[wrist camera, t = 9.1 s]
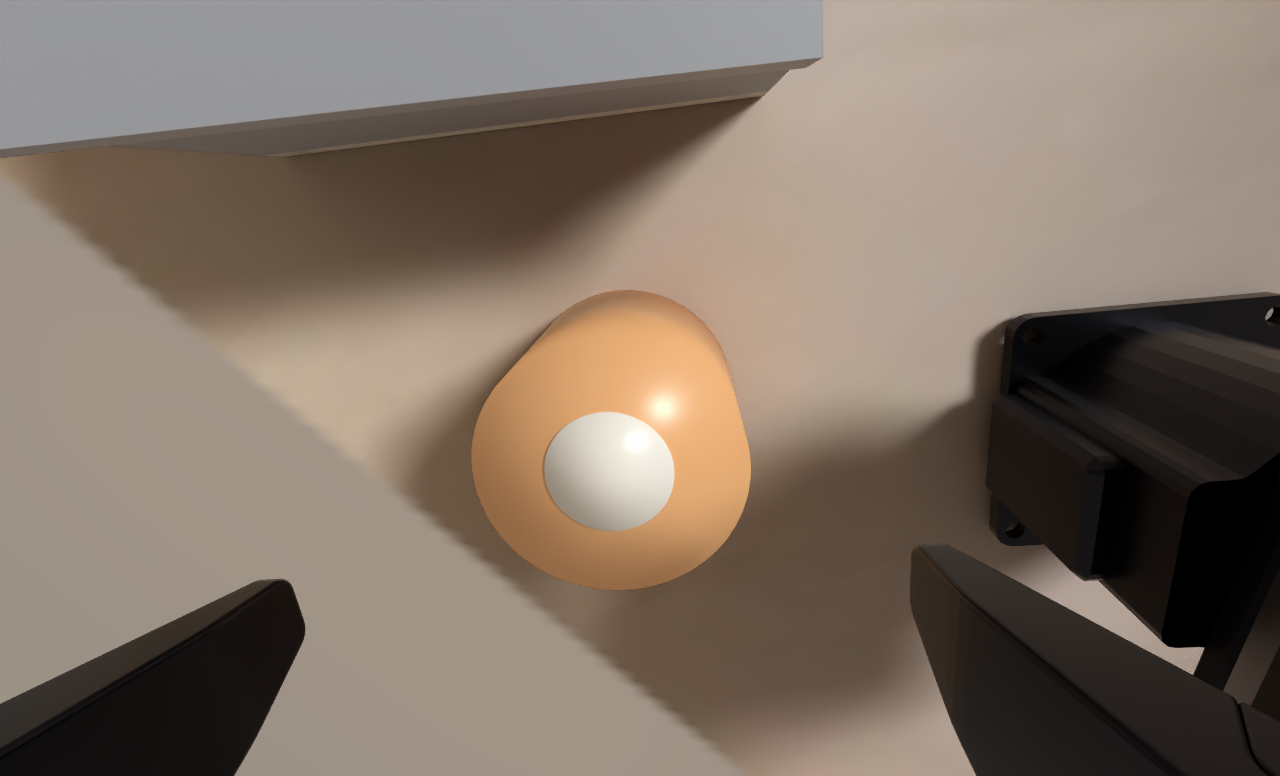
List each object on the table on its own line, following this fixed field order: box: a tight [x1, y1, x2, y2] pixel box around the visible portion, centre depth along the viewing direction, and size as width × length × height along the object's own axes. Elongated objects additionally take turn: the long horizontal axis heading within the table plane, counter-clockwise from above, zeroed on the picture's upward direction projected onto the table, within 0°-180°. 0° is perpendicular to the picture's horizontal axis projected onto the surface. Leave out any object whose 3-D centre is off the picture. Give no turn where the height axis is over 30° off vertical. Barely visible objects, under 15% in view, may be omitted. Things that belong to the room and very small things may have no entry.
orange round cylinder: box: [471, 290, 751, 590], centre depth 14 cm, size 6×6×5 cm
